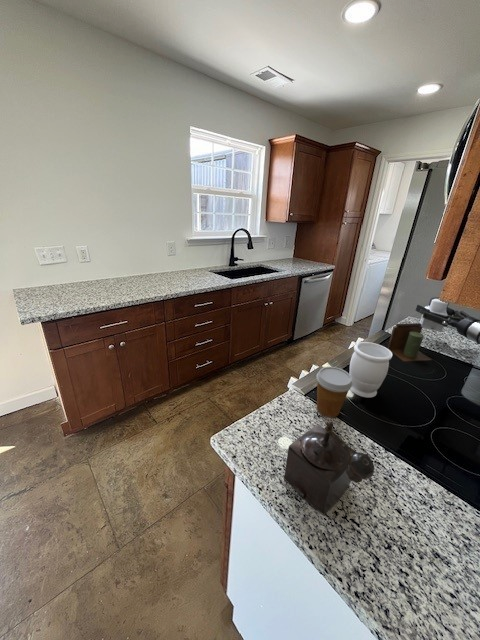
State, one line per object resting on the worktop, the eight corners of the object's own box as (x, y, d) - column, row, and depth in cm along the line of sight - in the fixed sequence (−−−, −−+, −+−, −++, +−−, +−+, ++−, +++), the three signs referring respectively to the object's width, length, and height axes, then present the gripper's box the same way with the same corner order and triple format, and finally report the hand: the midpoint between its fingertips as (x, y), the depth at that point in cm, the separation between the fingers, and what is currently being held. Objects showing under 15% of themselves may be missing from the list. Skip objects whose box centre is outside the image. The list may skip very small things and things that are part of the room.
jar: (384, 389, 86) (396, 349, 80) (374, 405, 79) (387, 363, 73) (351, 376, 93) (361, 338, 87) (339, 389, 85) (348, 349, 79)
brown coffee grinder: (280, 478, 57) (289, 414, 50) (311, 451, 64) (323, 391, 56) (345, 544, 46) (369, 475, 39) (375, 503, 53) (400, 438, 46)
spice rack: (412, 349, 112) (421, 322, 107) (431, 362, 102) (442, 334, 97) (386, 350, 110) (394, 323, 105) (402, 363, 101) (412, 335, 96)
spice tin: (413, 352, 107) (420, 332, 103) (418, 358, 103) (426, 337, 99) (401, 350, 108) (407, 330, 104) (405, 356, 103) (412, 336, 100)
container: (419, 321, 121) (429, 294, 115) (440, 326, 117) (450, 298, 112) (420, 327, 115) (430, 299, 109) (441, 332, 111) (452, 303, 106)
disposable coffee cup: (307, 414, 75) (313, 379, 70) (314, 394, 83) (320, 362, 78) (343, 426, 71) (352, 390, 66) (346, 404, 79) (355, 371, 74)
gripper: (443, 339, 97) (402, 315, 117) (498, 338, 99) (448, 315, 119) (450, 320, 94) (407, 299, 114) (506, 319, 96) (454, 299, 116)
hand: (428, 307), depth 116 cm, fingers closed on container, 10 cm apart
